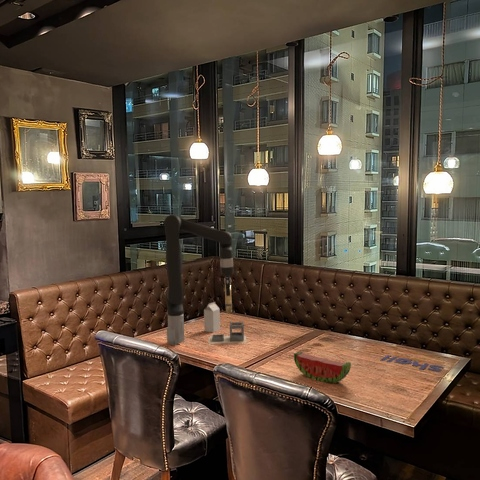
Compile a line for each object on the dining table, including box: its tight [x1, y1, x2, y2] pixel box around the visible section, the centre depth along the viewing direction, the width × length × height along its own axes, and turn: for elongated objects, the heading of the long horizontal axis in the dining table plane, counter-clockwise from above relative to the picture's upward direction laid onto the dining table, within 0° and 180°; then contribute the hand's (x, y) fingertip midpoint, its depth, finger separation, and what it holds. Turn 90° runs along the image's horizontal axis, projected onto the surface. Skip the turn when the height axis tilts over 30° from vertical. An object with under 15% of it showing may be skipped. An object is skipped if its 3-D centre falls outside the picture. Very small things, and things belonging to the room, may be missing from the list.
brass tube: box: [224, 284, 233, 314], centre depth 254 cm, size 4×4×16 cm
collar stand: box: [211, 321, 245, 342], centre depth 255 cm, size 18×8×9 cm, turn 91°
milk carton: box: [203, 301, 221, 333], centre depth 274 cm, size 7×7×19 cm
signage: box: [380, 354, 445, 372], centre depth 217 cm, size 28×1×10 cm
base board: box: [208, 335, 247, 345], centre depth 256 cm, size 22×14×2 cm, turn 92°
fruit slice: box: [293, 350, 352, 384], centre depth 200 cm, size 26×6×10 cm, turn 52°
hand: (228, 294), depth 253 cm, fingers closed on brass tube, 3 cm apart
